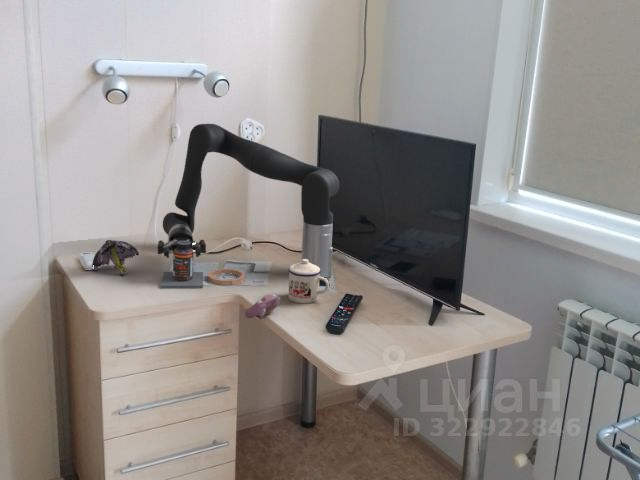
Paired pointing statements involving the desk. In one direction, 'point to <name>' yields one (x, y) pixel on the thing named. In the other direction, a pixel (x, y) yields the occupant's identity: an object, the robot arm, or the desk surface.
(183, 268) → the supplement bottle
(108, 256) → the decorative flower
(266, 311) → the video game controller
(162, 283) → the grey mat
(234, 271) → the terracotta ring
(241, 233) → the desk surface
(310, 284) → the teacup with lid
